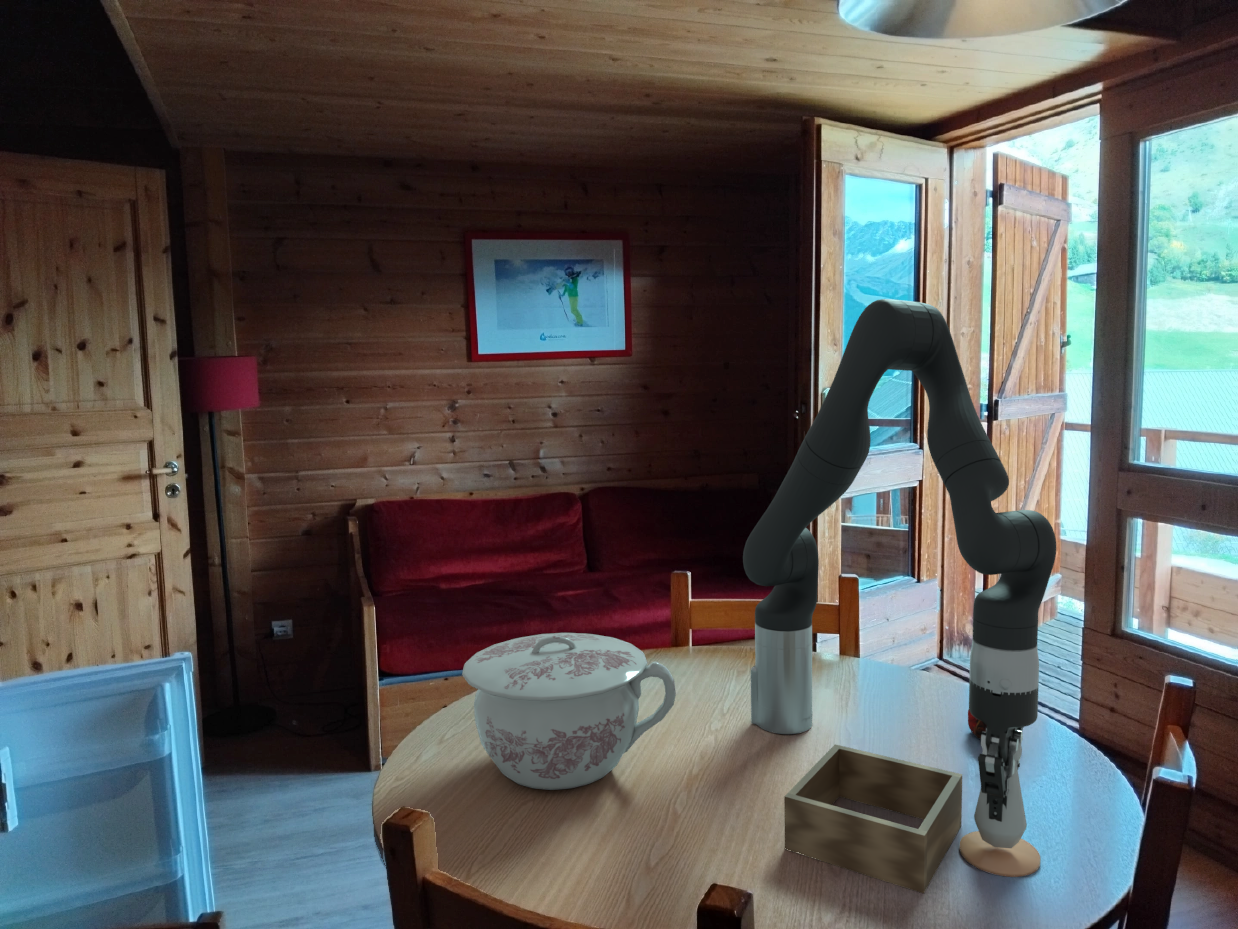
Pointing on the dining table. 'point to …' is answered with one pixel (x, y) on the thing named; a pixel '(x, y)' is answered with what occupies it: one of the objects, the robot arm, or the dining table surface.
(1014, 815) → the salt shaker
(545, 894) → the dining table surface
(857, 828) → the walnut box
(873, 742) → the dining table surface
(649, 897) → the dining table surface
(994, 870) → the tan round coaster
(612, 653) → the chamber pot
